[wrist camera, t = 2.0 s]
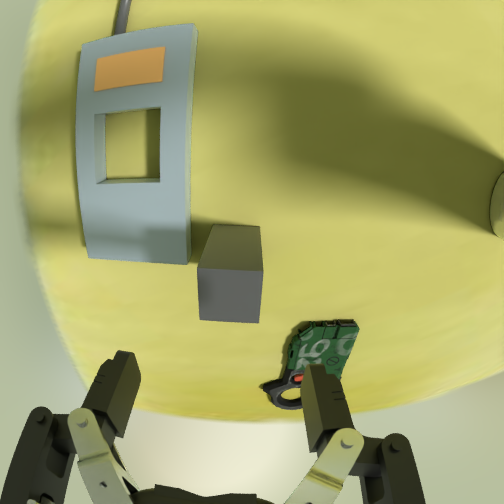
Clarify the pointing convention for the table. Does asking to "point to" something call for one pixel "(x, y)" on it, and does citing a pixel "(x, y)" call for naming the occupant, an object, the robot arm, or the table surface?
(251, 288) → the block
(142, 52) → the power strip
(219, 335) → the table surface
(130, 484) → the robot arm
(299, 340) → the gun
